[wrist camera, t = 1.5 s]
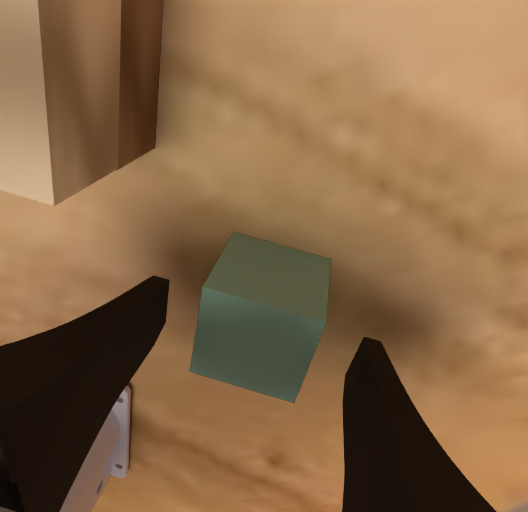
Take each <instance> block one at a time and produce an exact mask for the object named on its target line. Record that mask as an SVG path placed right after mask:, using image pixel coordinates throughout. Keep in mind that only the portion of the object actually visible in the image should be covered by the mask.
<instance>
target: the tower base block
mask: <svg viewBox="0 0 528 512" xmlns="http://www.w3.org/2000/svg"><path fill="white" fill-rule="evenodd" d="M162 17H163V0H121V37H120V90H119V142H118V169H120V168H122V167H123V166H125V165H127V164H128V163H130V162H132V161H133V160H135V159H137V158H139V157H140V156H142V155H144V154H145V153H147V152H149V151H150V150H152V149H154V148H155V140H156V123H157V105H158V88H159V70H160V52H161V35H162ZM118 169H117V170H118Z"/></svg>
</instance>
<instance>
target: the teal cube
mask: <svg viewBox="0 0 528 512" xmlns="http://www.w3.org/2000/svg"><path fill="white" fill-rule="evenodd" d="M330 262H331V259H329V258H326V257H322V256H319V255H315V254H311V253H308V252H304V251H301V250H297V249H294V248H290V247H286V246H283V245H279V244H276V243H272V242H269V241H265V240H261V239H258V238H254V237H251V236H247V235H243V234H240V233H236V232H234V233H233V235H232V236H231V238H230V240H229V242H228V243H227V245H226V247H225V249H224V250H223V252H222V254H221V256H220V257H219V259H218V261H217V263H216V264H215V266H214V268H213V270H212V271H211V273H210V275H209V276H208V278H207V280H206V282H205V283H204V285H203V288H202V294H201V301H200V307H199V314H198V320H197V327H196V333H195V340H194V346H193V353H192V359H191V366H190V372H192V373H195V374H199V375H202V376H205V377H209V378H212V379H215V380H219V381H222V382H225V383H229V384H232V385H235V386H239V387H242V388H245V389H248V390H252V391H255V392H258V393H262V394H265V395H268V396H272V397H275V398H278V399H282V400H285V401H288V402H292V403H295V400H296V398H297V395H298V393H299V390H300V388H301V385H302V383H303V380H304V378H305V375H306V373H307V370H308V368H309V365H310V363H311V360H312V358H313V355H314V353H315V350H316V348H317V345H318V343H319V340H320V338H321V335H322V333H323V330H324V328H325V325H326V322H327V307H328V292H329V277H330Z"/></svg>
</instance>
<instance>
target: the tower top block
mask: <svg viewBox="0 0 528 512" xmlns="http://www.w3.org/2000/svg"><path fill="white" fill-rule="evenodd" d="M120 37H121V0H0V190H2V191H5V192H9V193H12V194H16V195H19V196H22V197H26V198H29V199H32V200H36V201H39V202H42V203H46V204H49V205H52V206H55V205H57V204H58V203H60V202H62V201H64V200H65V199H67V198H69V197H70V196H72V195H74V194H76V193H77V192H79V191H81V190H82V189H84V188H86V187H88V186H89V185H91V184H93V183H94V182H96V181H98V180H99V179H101V178H103V177H105V176H106V175H108V174H110V173H111V172H113V171H115V170H117V169H118V142H119V90H120Z"/></svg>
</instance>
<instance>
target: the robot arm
mask: <svg viewBox="0 0 528 512" xmlns="http://www.w3.org/2000/svg"><path fill="white" fill-rule="evenodd" d="M168 291H169V280H167V279H164V278H161V277H157V276H152V277H150V278H148V279H147V280H145V281H143V282H142V283H140V284H138V285H137V286H135V287H133V288H132V289H130V290H129V291H127V292H125V293H124V294H122V295H120V296H118V297H117V298H115V299H113V300H111V301H110V302H108V303H106V304H104V305H103V306H101V307H99V308H97V309H95V310H93V311H91V312H89V313H87V314H85V315H83V316H81V317H79V318H77V319H75V320H73V321H70V322H68V323H66V324H63V325H61V326H58V327H56V328H54V329H51V330H48V331H46V332H43V333H40V334H37V335H34V336H31V337H28V338H25V339H22V340H20V341H16V342H13V343H10V344H6V345H3V346H0V512H91V511H92V509H93V507H94V506H95V504H96V502H97V500H98V498H99V496H100V494H101V493H102V491H103V489H104V487H105V485H106V483H107V481H108V479H109V478H110V476H115V477H118V478H125V477H126V475H127V473H128V466H129V434H130V401H131V390H130V388H129V387H128V386H127V384H128V383H129V381H130V380H131V378H132V377H133V376H134V374H135V373H136V371H137V370H138V368H139V367H140V365H141V364H142V362H143V361H144V359H145V358H146V356H147V355H148V353H149V352H150V350H151V349H152V347H153V346H154V344H155V342H156V340H157V338H158V336H159V334H160V332H161V330H162V328H163V326H164V324H165V322H166V313H167V302H168ZM343 432H344V462H345V474H344V493H343V508H342V512H496V511H495V510H494V509H493V507H492V506H491V505H490V504H489V503H488V502H487V501H486V500H485V499H484V498H483V497H482V496H481V495H480V493H479V492H478V491H477V490H476V489H475V488H474V487H473V485H472V484H471V483H470V482H469V481H468V480H467V478H466V477H465V476H464V475H463V474H462V472H461V471H460V470H459V469H458V467H457V466H456V465H455V464H454V462H453V461H452V460H451V459H450V457H449V456H448V455H447V453H446V452H445V451H444V450H443V448H442V447H441V445H440V444H439V443H438V441H437V440H436V438H435V437H434V436H433V434H432V433H431V431H430V430H429V428H428V427H427V425H426V424H425V422H424V421H423V419H422V417H421V416H420V414H419V413H418V411H417V409H416V408H415V406H414V404H413V403H412V401H411V399H410V397H409V395H408V394H407V392H406V390H405V388H404V386H403V384H402V383H401V381H400V379H399V377H398V375H397V373H396V371H395V369H394V367H393V365H392V363H391V361H390V359H389V357H388V355H387V353H386V350H385V348H384V346H383V344H382V343H381V341H377V340H374V339H370V338H367V337H364V338H363V340H362V342H361V344H360V346H359V348H358V350H357V352H356V354H355V356H354V358H353V360H352V362H351V364H350V366H349V369H348V371H347V373H346V375H345V383H344V393H343Z"/></svg>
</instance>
